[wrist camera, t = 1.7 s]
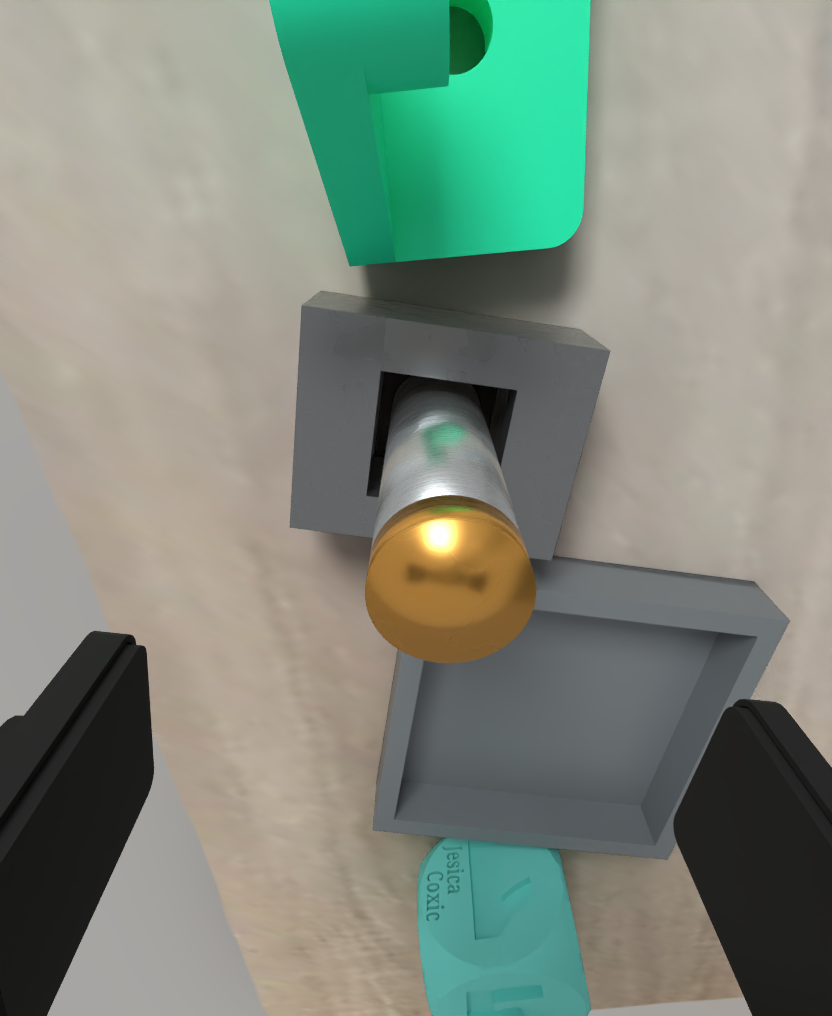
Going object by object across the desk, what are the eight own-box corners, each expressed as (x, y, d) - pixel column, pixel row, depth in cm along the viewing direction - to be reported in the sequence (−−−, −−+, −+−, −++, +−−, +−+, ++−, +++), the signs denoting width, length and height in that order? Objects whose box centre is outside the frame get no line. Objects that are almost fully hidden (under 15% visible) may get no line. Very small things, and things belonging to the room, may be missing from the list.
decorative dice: (550, 809, 35) (583, 962, 28) (565, 891, 38) (597, 1046, 31) (417, 827, 36) (415, 980, 29) (443, 905, 39) (447, 1060, 32)
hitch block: (580, 329, 23) (610, 350, 19) (533, 513, 26) (551, 560, 23) (320, 290, 22) (301, 305, 19) (308, 484, 26) (289, 527, 22)
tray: (754, 581, 28) (790, 620, 25) (648, 809, 35) (667, 859, 32) (415, 538, 27) (415, 574, 24) (376, 781, 34) (372, 830, 31)
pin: (487, 374, 24) (554, 533, 12) (471, 458, 25) (516, 671, 13) (397, 361, 24) (375, 509, 12) (387, 446, 25) (357, 653, 13)
